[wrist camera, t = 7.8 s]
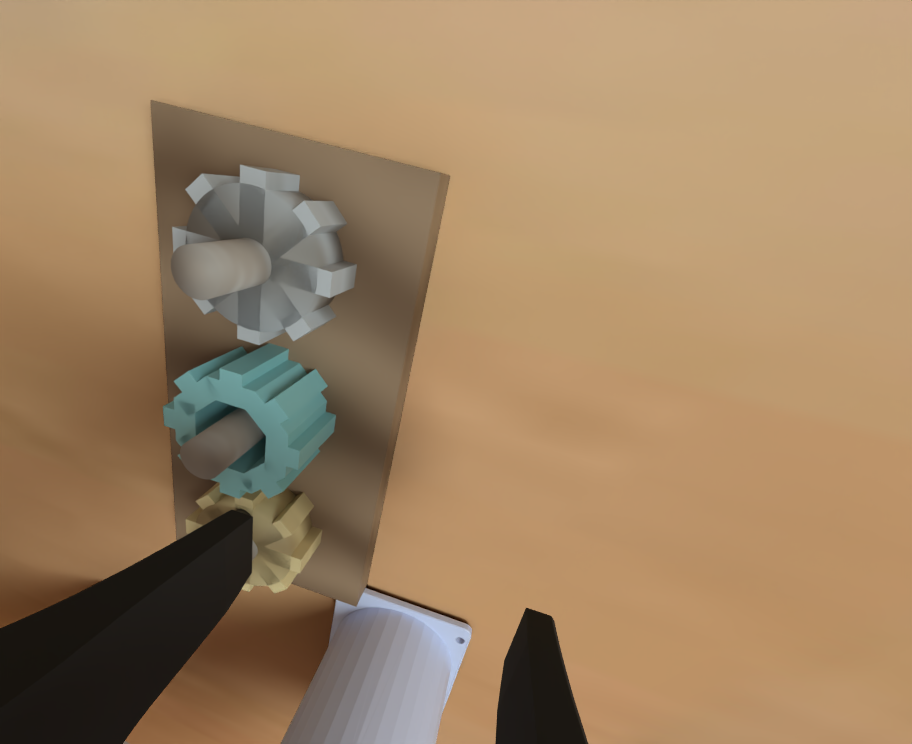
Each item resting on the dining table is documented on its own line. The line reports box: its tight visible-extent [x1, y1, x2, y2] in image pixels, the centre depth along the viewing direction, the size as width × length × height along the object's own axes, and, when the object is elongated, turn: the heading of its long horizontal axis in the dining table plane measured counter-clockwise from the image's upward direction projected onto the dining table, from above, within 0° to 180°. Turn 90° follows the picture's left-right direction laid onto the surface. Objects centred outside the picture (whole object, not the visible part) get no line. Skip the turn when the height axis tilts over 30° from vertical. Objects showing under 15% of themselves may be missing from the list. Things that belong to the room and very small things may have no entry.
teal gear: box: [163, 343, 336, 499], centre depth 18 cm, size 6×6×3 cm
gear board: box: [151, 100, 450, 607], centre depth 18 cm, size 22×11×6 cm, turn 167°
